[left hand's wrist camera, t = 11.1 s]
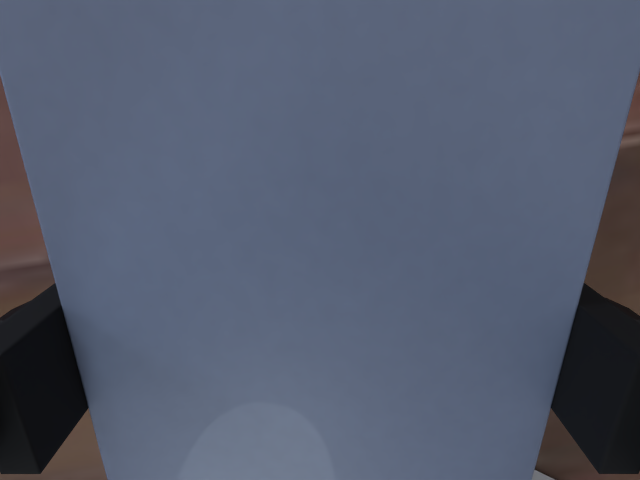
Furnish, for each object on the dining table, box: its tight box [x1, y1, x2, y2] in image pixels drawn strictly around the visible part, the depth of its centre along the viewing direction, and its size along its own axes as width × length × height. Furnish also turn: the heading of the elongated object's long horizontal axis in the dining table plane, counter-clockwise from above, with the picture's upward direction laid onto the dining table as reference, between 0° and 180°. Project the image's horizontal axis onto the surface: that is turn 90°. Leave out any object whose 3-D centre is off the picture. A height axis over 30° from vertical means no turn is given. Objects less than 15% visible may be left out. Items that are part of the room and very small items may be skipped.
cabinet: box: [0, 0, 640, 480], centre depth 11 cm, size 22×11×9 cm, turn 0°
